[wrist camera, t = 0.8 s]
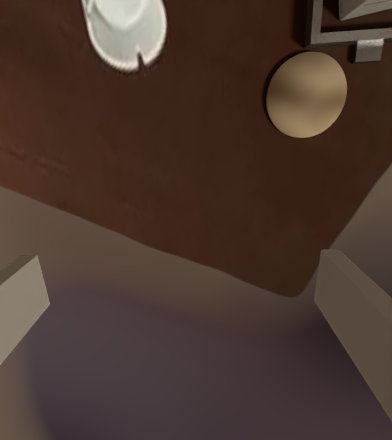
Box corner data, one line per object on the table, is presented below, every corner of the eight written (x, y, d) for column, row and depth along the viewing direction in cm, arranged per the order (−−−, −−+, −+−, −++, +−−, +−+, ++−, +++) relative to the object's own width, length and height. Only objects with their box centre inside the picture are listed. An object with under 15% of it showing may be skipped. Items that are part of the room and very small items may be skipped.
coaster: (267, 55, 33) (268, 54, 33) (349, 50, 33) (351, 48, 32) (265, 139, 36) (266, 139, 36) (339, 135, 36) (341, 135, 36)
